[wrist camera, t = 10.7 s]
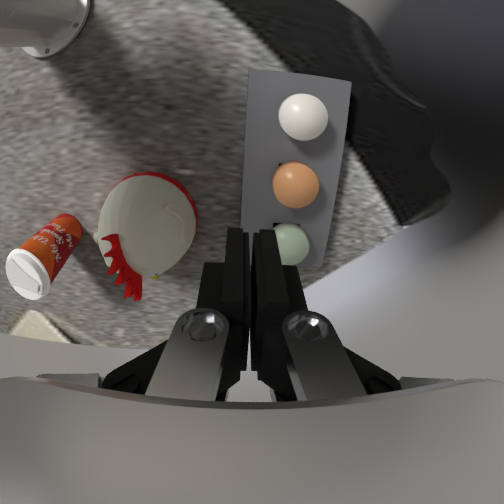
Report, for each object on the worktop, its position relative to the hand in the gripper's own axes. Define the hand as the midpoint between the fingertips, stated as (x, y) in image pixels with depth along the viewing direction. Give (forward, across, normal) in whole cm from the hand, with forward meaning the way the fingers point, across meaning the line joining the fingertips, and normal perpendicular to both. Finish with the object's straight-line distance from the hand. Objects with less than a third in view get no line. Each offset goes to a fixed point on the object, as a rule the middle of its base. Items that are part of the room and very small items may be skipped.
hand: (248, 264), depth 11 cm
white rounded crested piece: (+29, +13, +12) cm, 34 cm away
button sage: (+28, -6, +13) cm, 31 cm away
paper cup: (+29, +28, +14) cm, 43 cm away
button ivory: (+28, -6, -4) cm, 29 cm away
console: (+29, -6, +4) cm, 30 cm away
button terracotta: (+28, -6, +5) cm, 29 cm away
